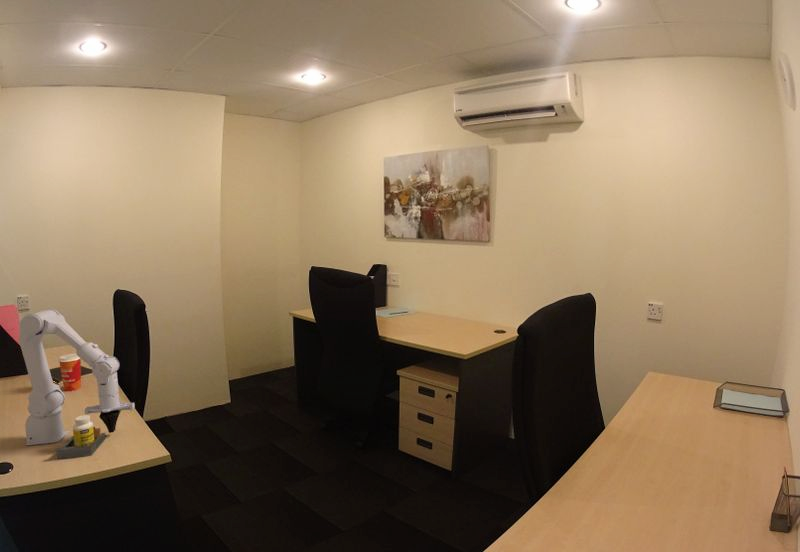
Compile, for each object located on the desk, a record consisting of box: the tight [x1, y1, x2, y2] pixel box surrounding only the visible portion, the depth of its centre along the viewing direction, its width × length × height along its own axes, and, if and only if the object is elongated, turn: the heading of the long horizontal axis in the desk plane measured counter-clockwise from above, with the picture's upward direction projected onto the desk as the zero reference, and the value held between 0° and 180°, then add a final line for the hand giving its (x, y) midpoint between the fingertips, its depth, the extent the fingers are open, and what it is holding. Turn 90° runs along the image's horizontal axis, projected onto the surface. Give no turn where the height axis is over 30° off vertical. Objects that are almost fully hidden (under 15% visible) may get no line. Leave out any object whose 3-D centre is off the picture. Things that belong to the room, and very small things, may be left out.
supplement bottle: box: [72, 414, 95, 447], centre depth 146 cm, size 5×5×10 cm
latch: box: [93, 426, 102, 439], centre depth 152 cm, size 4×1×3 cm, turn 104°
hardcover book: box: [49, 365, 93, 383], centre depth 215 cm, size 16×23×2 cm
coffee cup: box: [57, 353, 82, 392], centre depth 197 cm, size 8×8×15 cm
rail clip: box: [55, 432, 107, 460], centre depth 146 cm, size 10×14×3 cm, turn 14°
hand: (112, 431), depth 154 cm, fingers closed
